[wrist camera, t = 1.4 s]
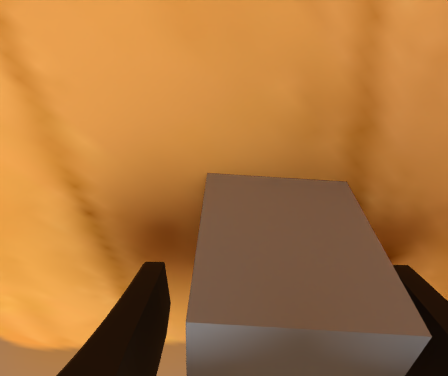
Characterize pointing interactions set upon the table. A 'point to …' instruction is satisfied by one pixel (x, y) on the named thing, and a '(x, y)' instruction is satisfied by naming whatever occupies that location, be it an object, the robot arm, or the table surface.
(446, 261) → the table surface
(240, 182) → the slate block
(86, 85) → the table surface
